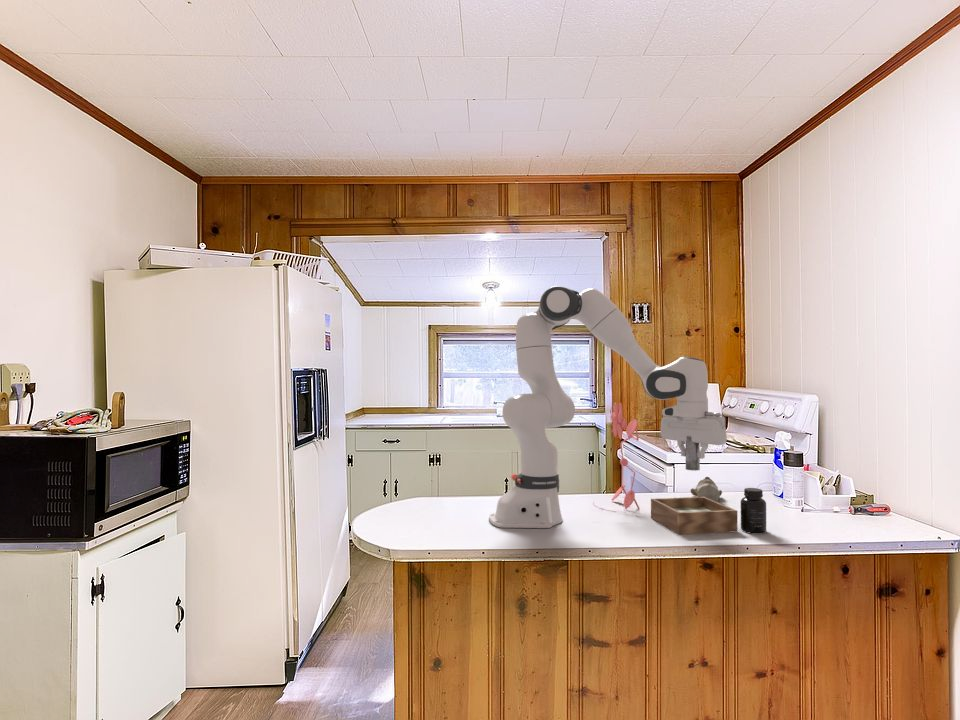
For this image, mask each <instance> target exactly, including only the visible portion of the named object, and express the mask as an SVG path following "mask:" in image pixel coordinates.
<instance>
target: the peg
mask: <svg viewBox="0 0 960 720" xmlns="http://www.w3.org/2000/svg"><path fill="white" fill-rule="evenodd" d="M685 449H686V456H685V470H687V471H700V469H701V467H700V466H701V465H700V462H701V459H700V458H697V452H700V450H701V447H700V443H694V442H692V437H691V436H687V440H686V442H685Z"/></svg>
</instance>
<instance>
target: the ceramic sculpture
mask: <svg viewBox="0 0 960 720" xmlns="http://www.w3.org/2000/svg"><path fill="white" fill-rule="evenodd" d="M690 493H691V494H692V495H693V497H706V498H709V499H711V500H713V501H716V502H718V501H719V499H720V497H721V496H722V494H723V491H722V490H721V489H720V490H719V488H718V486H717V484H716V483H715V482H714V480H713V479H711V477H709V476H705V478H703V479H701V480H700V481H699V482H698V483H697V485H696V487H695V488H691V489H690Z"/></svg>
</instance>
